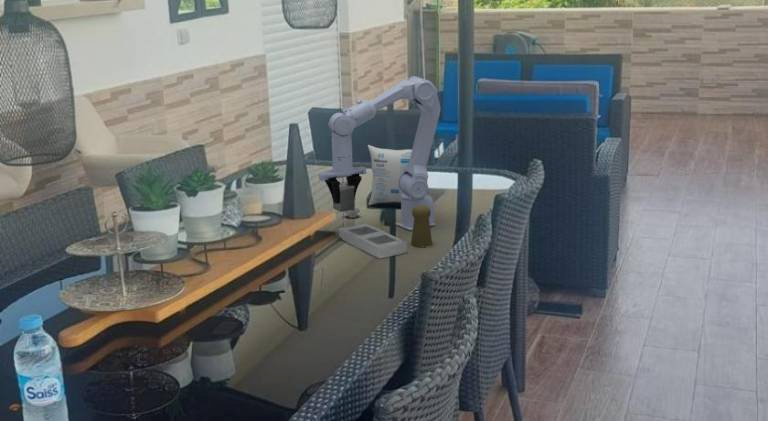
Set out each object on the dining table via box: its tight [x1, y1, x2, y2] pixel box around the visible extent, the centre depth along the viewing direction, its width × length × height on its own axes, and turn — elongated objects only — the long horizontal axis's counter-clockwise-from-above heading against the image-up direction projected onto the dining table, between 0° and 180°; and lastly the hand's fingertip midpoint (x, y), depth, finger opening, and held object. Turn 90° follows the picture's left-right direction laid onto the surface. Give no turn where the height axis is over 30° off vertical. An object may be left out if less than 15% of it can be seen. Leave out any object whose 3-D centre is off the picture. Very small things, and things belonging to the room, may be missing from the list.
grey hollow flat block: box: [338, 223, 408, 260], centre depth 255 cm, size 9×22×3 cm, turn 32°
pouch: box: [367, 144, 412, 206], centre depth 291 cm, size 8×19×20 cm, turn 74°
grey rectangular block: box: [332, 181, 355, 213], centre depth 263 cm, size 5×5×7 cm
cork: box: [410, 205, 433, 248], centre depth 254 cm, size 6×6×11 cm
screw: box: [344, 199, 361, 219], centre depth 281 cm, size 13×5×5 cm
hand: (343, 201), depth 263 cm, fingers closed on grey rectangular block, 5 cm apart
